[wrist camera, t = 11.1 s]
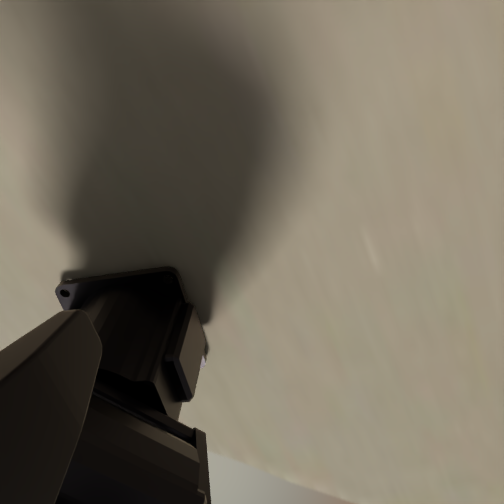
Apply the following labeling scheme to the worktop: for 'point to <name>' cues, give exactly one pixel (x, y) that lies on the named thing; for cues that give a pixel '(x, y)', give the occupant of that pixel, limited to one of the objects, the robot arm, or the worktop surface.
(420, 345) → the worktop surface
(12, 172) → the worktop surface
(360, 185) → the worktop surface
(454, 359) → the worktop surface
